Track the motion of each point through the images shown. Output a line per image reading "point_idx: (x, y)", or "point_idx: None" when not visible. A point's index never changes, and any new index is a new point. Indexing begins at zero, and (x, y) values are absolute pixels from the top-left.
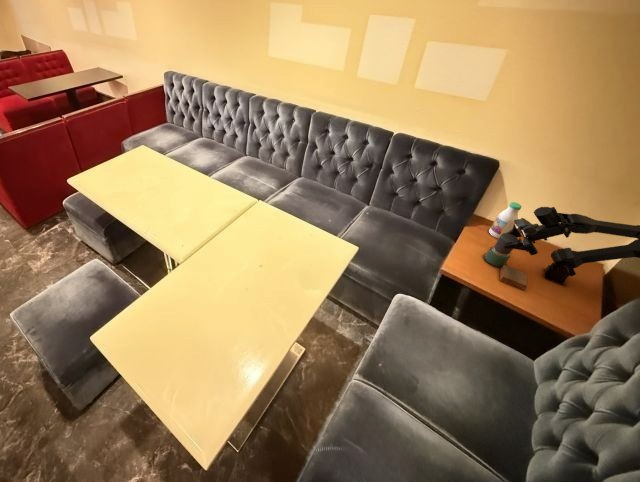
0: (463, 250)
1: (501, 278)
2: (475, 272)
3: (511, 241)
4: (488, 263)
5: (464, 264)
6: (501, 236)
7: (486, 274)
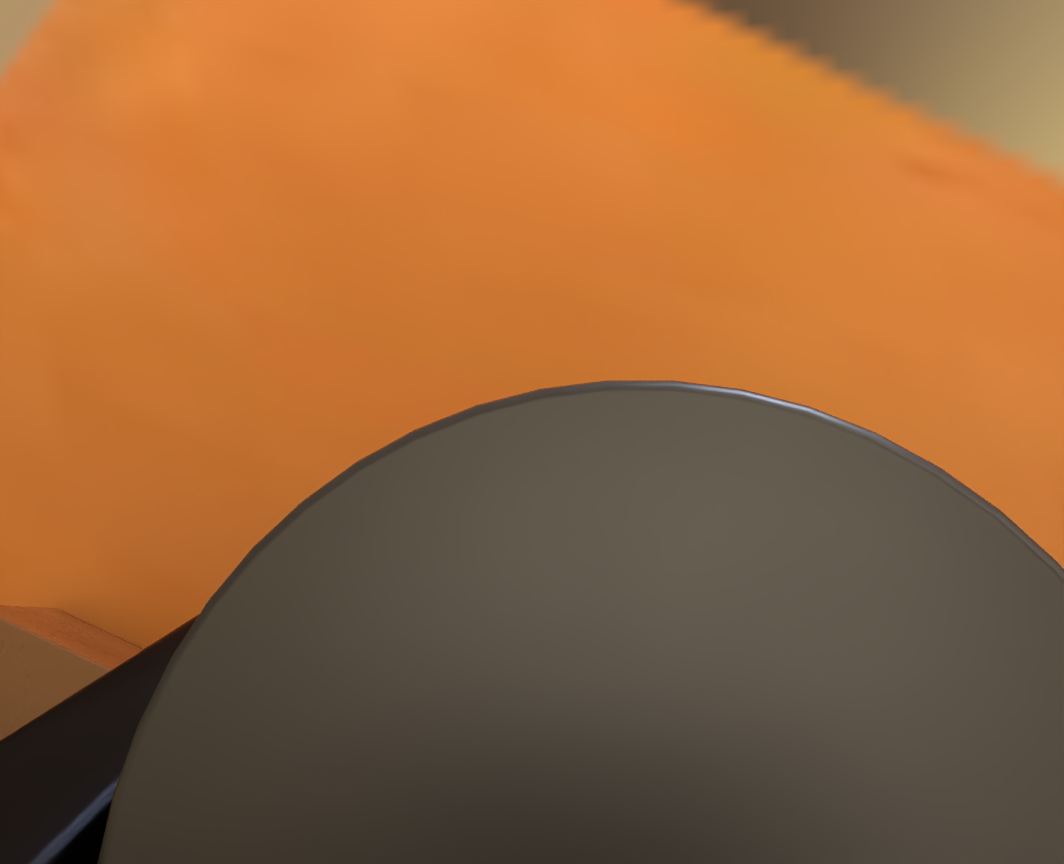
0: (818, 169)
1: (24, 609)
2: (205, 222)
3: (173, 842)
4: None
5: (383, 85)
6: (694, 389)
7: (187, 408)
